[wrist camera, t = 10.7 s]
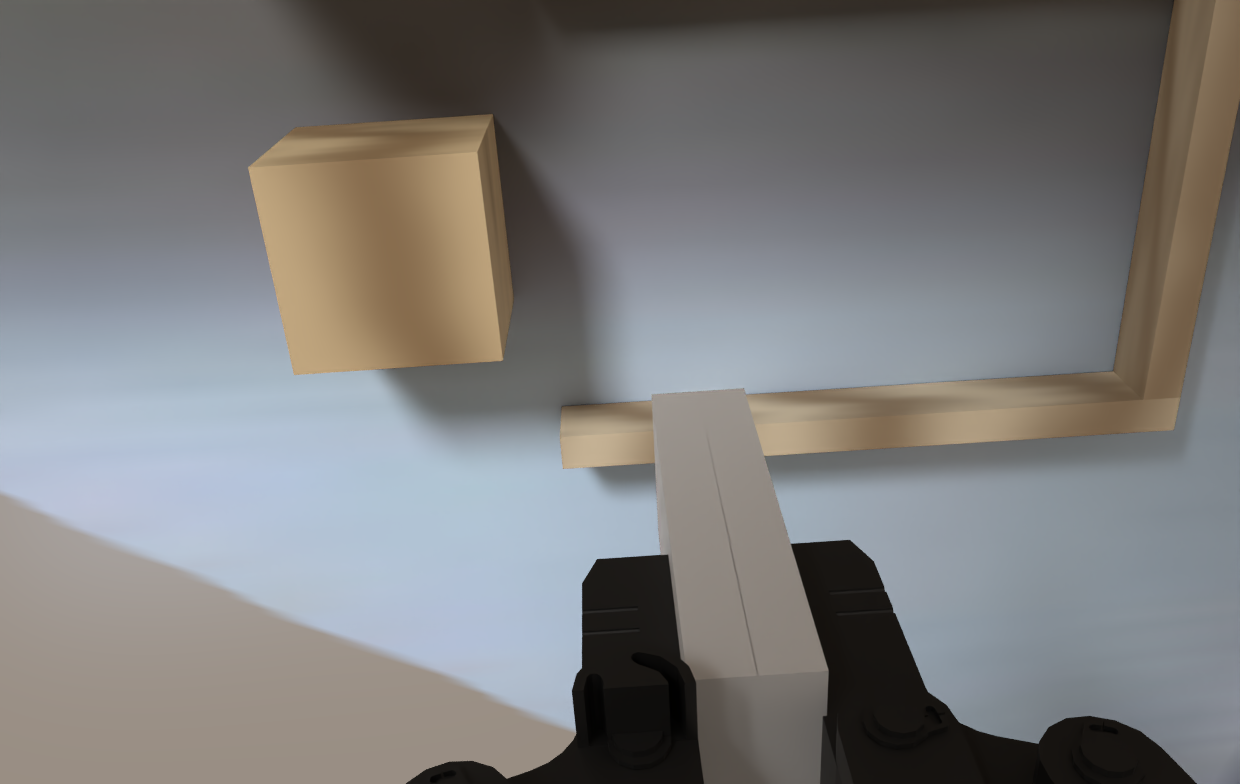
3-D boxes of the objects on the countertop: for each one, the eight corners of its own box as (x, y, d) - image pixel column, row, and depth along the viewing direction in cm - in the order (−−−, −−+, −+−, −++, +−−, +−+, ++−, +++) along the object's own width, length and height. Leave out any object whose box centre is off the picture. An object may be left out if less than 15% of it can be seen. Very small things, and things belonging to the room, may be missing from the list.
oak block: (332, 310, 34) (294, 374, 30) (296, 126, 32) (248, 167, 27) (514, 297, 34) (502, 360, 30) (493, 113, 32) (477, 152, 27)
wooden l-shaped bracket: (564, 436, 37) (562, 468, 35) (516, -76, 29) (510, -73, 27) (1142, 400, 36) (1173, 429, 34) (1237, -124, 29) (1283, -124, 27)
